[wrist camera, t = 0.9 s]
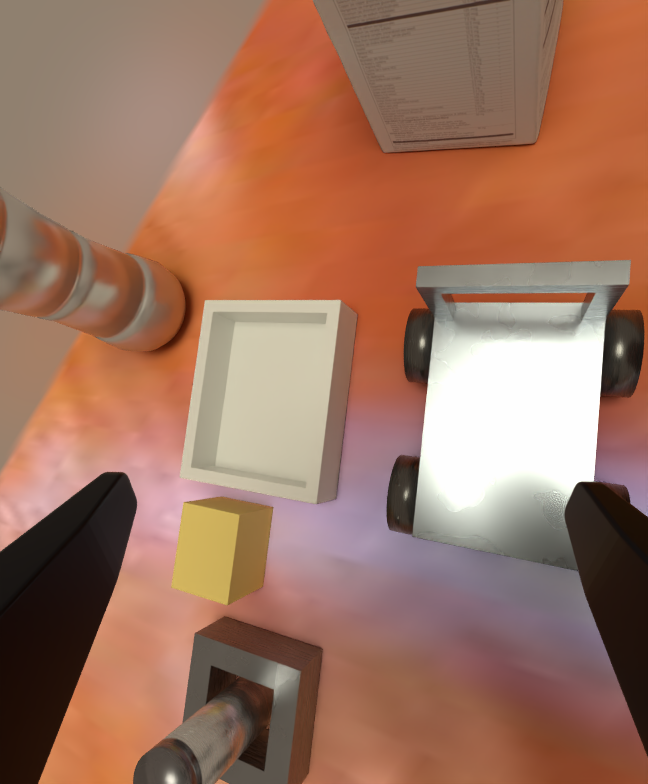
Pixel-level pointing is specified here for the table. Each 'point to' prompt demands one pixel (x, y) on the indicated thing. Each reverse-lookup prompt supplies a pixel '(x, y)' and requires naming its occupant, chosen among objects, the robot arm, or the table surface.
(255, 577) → the block
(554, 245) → the table surface
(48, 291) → the plastic bottle
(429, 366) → the trolley
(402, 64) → the supplement box
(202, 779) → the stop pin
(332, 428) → the tray
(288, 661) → the pin bracket
